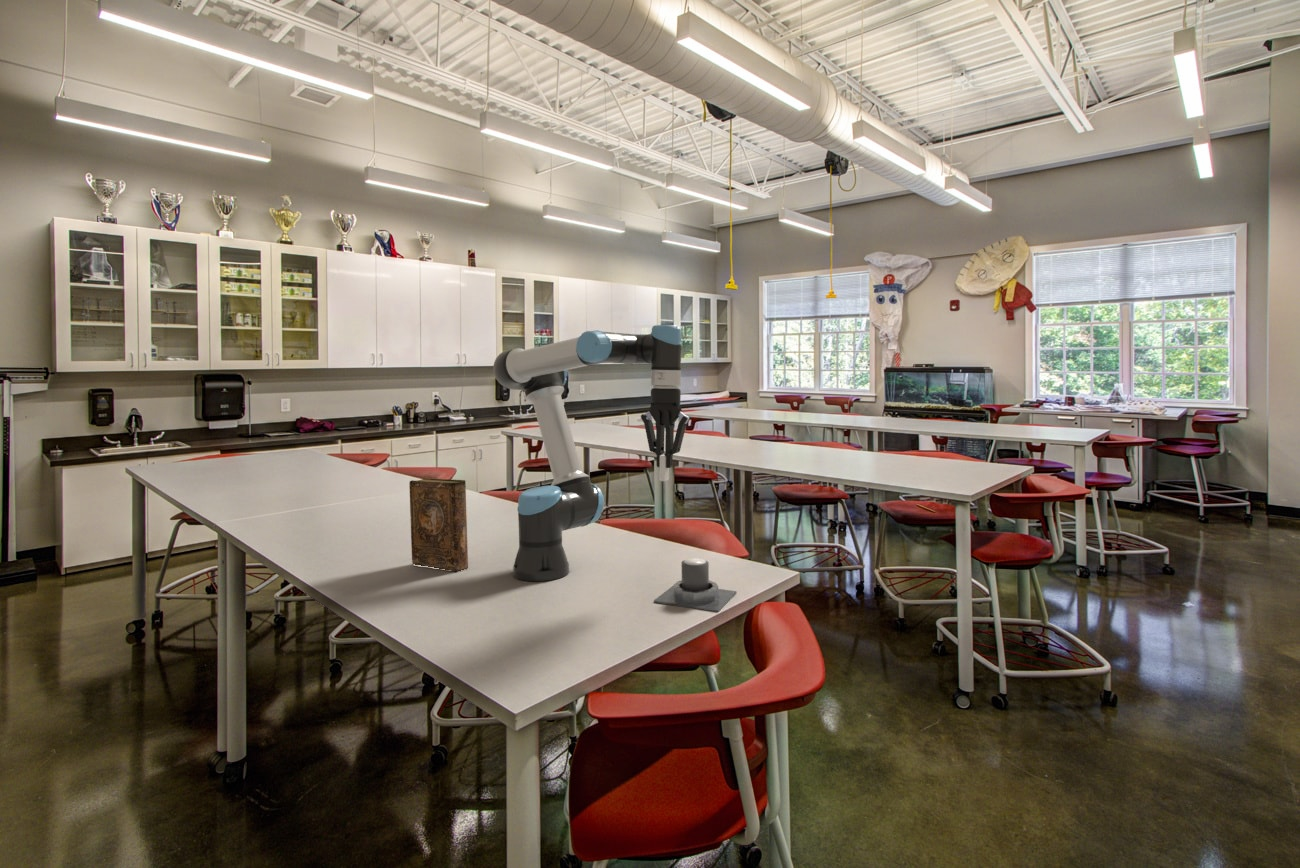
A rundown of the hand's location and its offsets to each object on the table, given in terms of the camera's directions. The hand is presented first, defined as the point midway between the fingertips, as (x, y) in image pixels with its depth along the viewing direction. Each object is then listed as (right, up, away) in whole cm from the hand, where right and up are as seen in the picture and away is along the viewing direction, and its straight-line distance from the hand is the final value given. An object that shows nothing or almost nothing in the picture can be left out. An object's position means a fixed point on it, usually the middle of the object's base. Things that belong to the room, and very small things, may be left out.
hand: (664, 480), depth 160 cm
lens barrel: (+7, -27, -8) cm, 29 cm away
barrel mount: (+7, -28, -8) cm, 30 cm away
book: (-63, -26, +20) cm, 71 cm away
